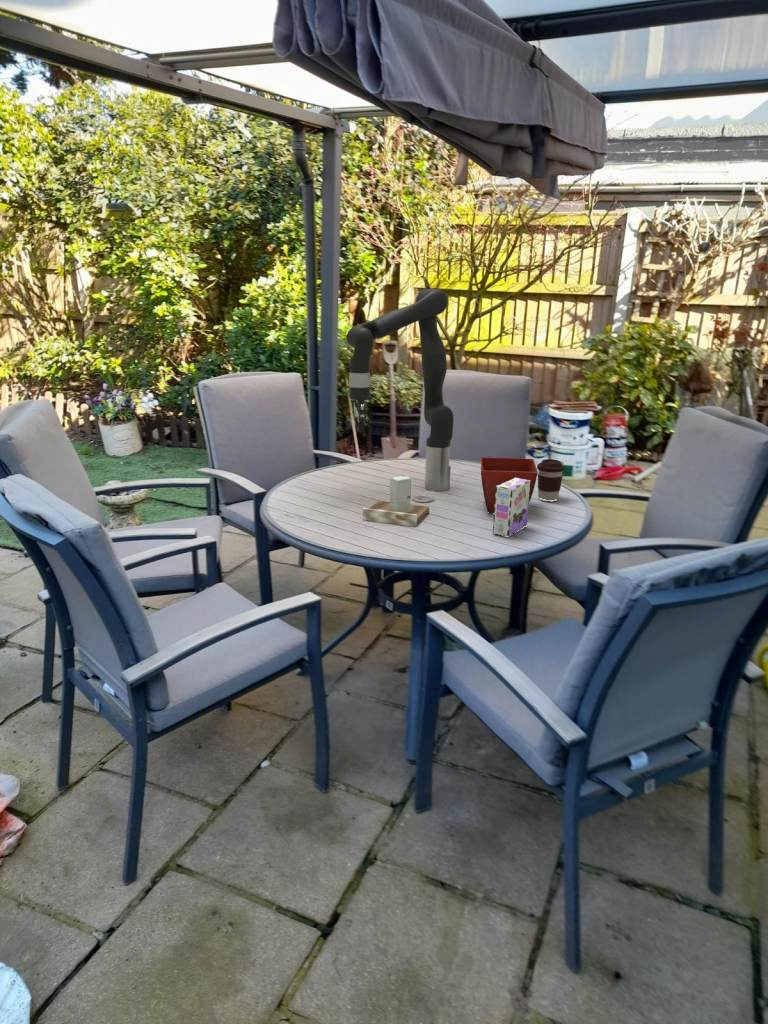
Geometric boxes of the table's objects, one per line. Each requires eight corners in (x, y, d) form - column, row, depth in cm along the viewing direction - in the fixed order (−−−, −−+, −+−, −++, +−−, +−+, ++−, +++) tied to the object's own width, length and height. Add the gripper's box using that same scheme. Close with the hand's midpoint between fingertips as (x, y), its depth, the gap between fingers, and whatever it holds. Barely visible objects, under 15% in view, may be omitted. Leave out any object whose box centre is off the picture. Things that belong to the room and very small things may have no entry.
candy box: (508, 538, 213) (511, 488, 208) (491, 534, 216) (495, 485, 211) (527, 527, 223) (531, 479, 218) (511, 523, 227) (515, 476, 222)
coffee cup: (564, 503, 248) (568, 464, 244) (537, 503, 248) (541, 464, 244) (557, 496, 258) (561, 458, 253) (532, 495, 258) (535, 457, 253)
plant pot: (478, 516, 234) (480, 469, 228) (478, 500, 252) (480, 456, 246) (534, 519, 231) (538, 472, 226) (530, 502, 249) (533, 458, 244)
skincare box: (396, 515, 226) (396, 480, 222) (389, 511, 230) (389, 477, 226) (411, 512, 229) (412, 478, 226) (404, 508, 233) (404, 475, 229)
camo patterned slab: (428, 513, 236) (429, 502, 235) (415, 527, 222) (415, 515, 221) (378, 507, 242) (378, 496, 241) (362, 520, 229) (362, 509, 227)
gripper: (373, 387, 233) (373, 433, 238) (367, 382, 246) (367, 426, 251) (351, 388, 232) (351, 434, 237) (346, 382, 245) (347, 426, 250)
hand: (359, 430), depth 244 cm, fingers open, 8 cm apart
